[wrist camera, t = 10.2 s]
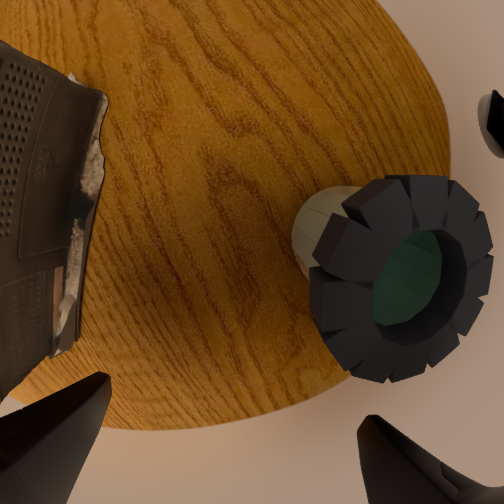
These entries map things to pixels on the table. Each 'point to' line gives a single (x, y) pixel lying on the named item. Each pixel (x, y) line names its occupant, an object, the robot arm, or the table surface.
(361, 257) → the ring
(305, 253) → the cup
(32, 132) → the radio
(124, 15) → the table surface
